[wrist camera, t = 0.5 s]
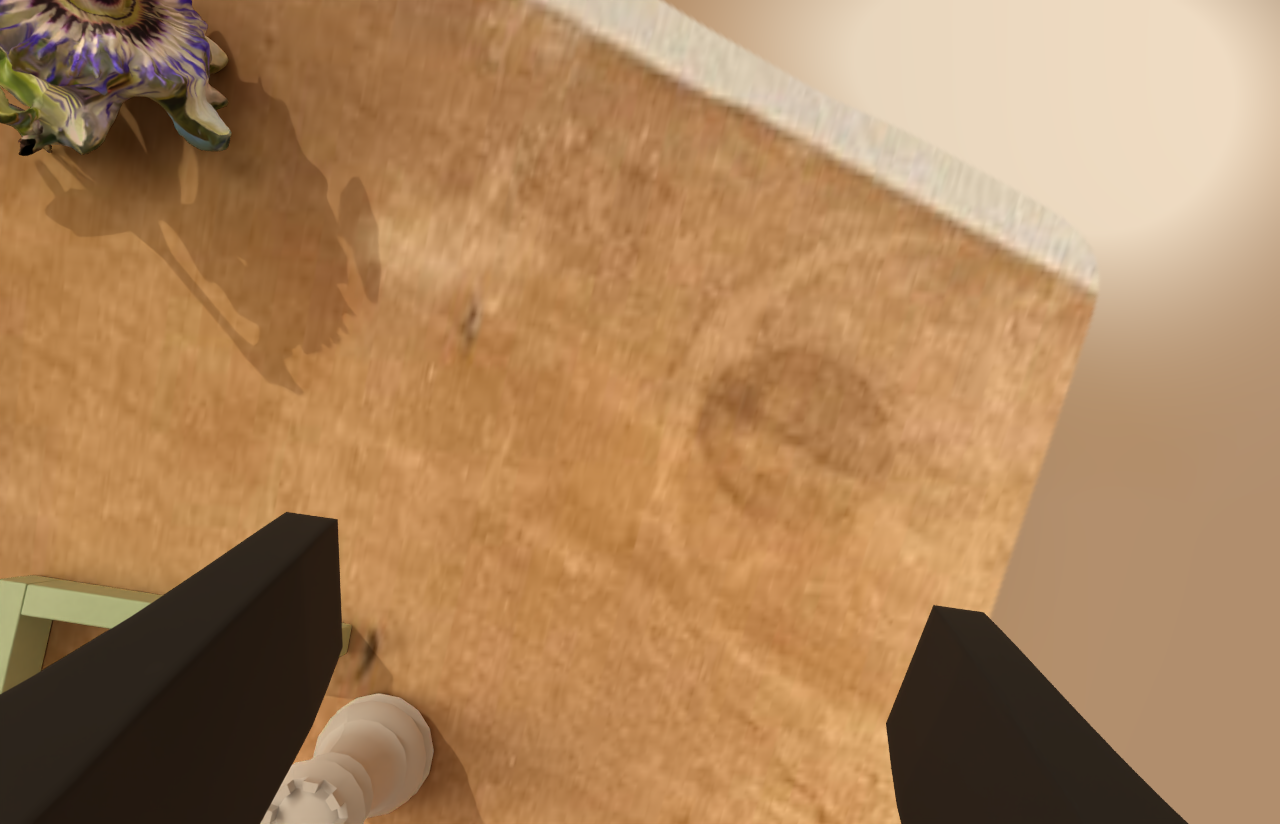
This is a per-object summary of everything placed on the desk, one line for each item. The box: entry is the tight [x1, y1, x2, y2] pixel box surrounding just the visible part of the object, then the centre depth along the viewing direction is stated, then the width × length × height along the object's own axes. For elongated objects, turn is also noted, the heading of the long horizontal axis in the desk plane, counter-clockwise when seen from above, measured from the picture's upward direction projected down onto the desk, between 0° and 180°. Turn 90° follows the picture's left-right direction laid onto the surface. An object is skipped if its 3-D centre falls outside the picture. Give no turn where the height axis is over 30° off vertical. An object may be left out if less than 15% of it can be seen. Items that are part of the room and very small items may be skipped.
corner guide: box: [0, 575, 352, 694], centre depth 32 cm, size 15×13×2 cm
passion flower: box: [0, 0, 232, 156], centre depth 33 cm, size 11×11×12 cm
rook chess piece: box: [260, 693, 434, 824], centre depth 29 cm, size 4×4×8 cm
